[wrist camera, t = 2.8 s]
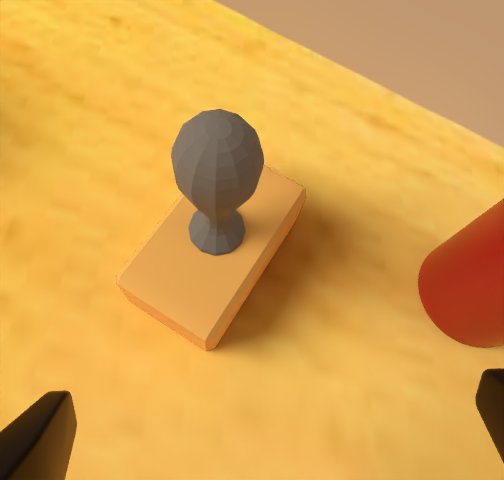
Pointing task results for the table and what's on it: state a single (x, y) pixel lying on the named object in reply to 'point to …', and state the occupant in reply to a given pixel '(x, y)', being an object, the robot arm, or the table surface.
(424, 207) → the table surface
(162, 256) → the rubber stamp
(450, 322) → the red cup
